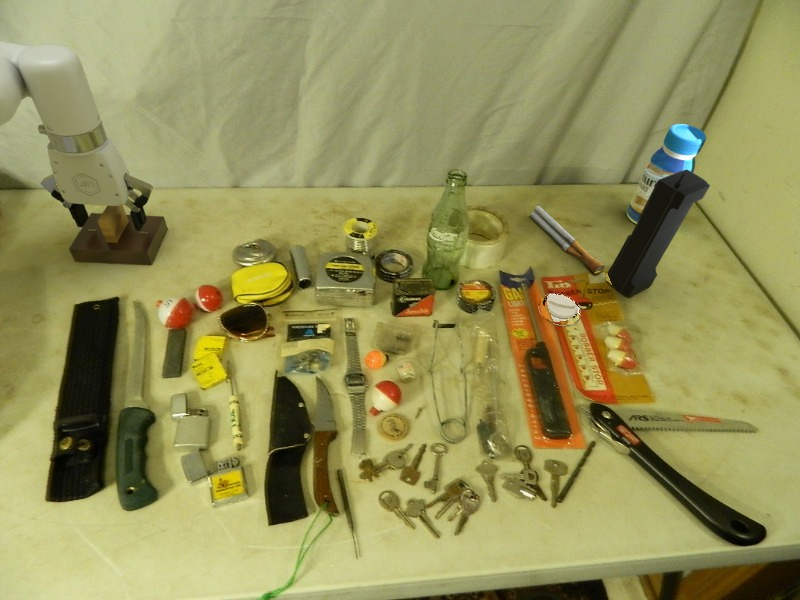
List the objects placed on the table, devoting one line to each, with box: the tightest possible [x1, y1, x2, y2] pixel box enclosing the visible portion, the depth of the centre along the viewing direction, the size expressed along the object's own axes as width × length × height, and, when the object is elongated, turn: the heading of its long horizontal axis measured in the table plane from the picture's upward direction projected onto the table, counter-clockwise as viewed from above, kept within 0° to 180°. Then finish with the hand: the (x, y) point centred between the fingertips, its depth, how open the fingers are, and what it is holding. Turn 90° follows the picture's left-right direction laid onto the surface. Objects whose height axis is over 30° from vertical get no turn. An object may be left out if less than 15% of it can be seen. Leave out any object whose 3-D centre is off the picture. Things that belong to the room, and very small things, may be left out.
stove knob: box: [537, 293, 581, 327], centre depth 92 cm, size 7×7×2 cm
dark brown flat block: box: [68, 212, 169, 266], centre depth 95 cm, size 13×10×3 cm
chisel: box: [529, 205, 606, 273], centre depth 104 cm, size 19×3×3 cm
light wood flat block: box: [98, 205, 129, 243], centre depth 92 cm, size 6×2×5 cm, turn 1°
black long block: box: [606, 169, 711, 298], centre depth 90 cm, size 8×6×25 cm
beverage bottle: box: [626, 123, 707, 225], centre depth 106 cm, size 8×8×20 cm
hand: (112, 224), depth 92 cm, fingers open, 9 cm apart
